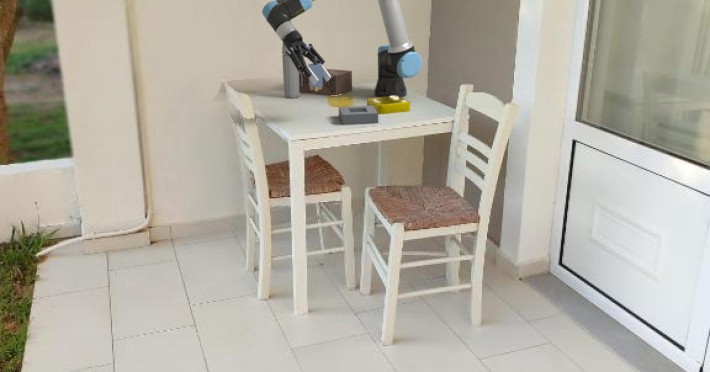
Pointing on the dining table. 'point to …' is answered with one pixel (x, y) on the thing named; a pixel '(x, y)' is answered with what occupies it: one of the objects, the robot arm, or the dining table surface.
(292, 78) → the water bottle
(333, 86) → the tissue box cover
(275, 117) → the dining table surface
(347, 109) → the socket
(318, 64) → the plug
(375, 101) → the element tile
